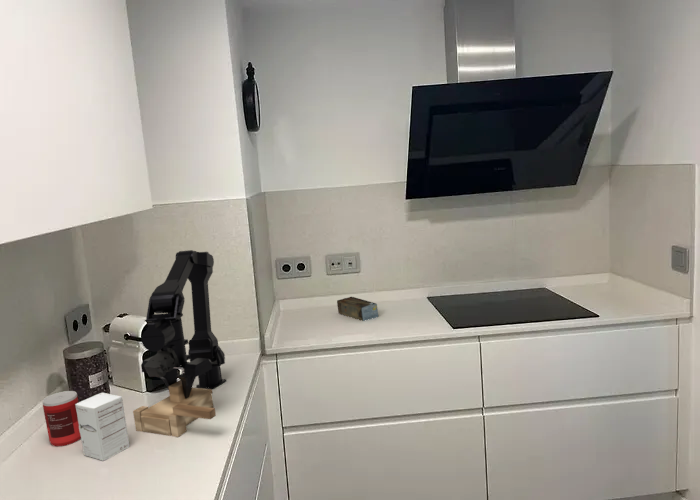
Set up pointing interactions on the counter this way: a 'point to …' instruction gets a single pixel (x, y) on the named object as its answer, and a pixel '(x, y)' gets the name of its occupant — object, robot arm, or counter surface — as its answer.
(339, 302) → the beverage carton
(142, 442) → the counter surface
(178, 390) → the lid
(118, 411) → the supplement box
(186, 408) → the brown wooden bar
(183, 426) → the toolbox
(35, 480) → the counter surface
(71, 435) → the canned food
